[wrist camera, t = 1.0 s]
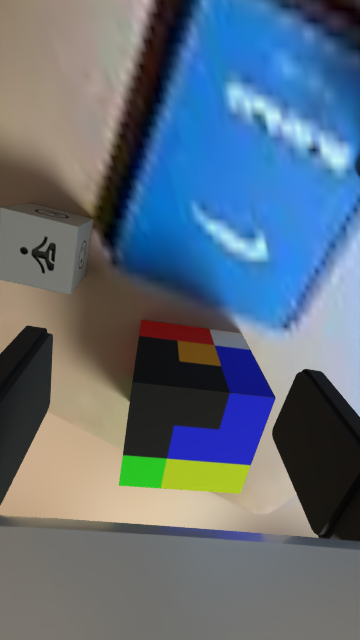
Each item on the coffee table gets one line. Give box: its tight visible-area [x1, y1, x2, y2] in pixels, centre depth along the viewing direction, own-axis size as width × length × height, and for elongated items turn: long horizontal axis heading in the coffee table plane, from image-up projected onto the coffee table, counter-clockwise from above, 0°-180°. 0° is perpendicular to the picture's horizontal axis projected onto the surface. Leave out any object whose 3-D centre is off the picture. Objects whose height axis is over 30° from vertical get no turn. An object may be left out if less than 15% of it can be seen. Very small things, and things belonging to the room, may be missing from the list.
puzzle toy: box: [119, 320, 275, 494], centre depth 27 cm, size 10×10×10 cm
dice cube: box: [0, 203, 93, 295], centre depth 23 cm, size 5×5×5 cm
